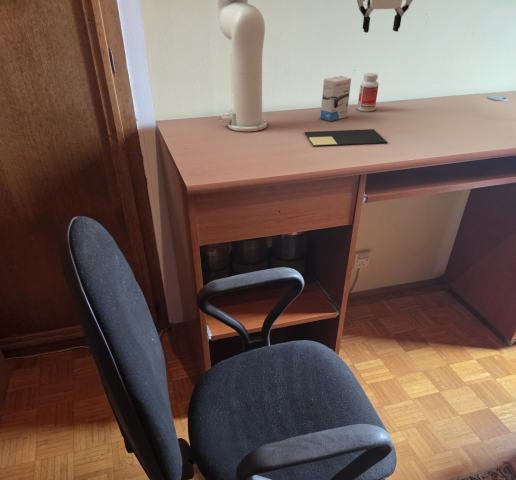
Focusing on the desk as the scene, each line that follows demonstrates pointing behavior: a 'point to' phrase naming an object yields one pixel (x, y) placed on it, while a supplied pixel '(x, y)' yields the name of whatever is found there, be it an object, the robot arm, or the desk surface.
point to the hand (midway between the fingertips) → (380, 31)
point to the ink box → (335, 98)
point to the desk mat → (345, 137)
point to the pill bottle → (368, 92)
